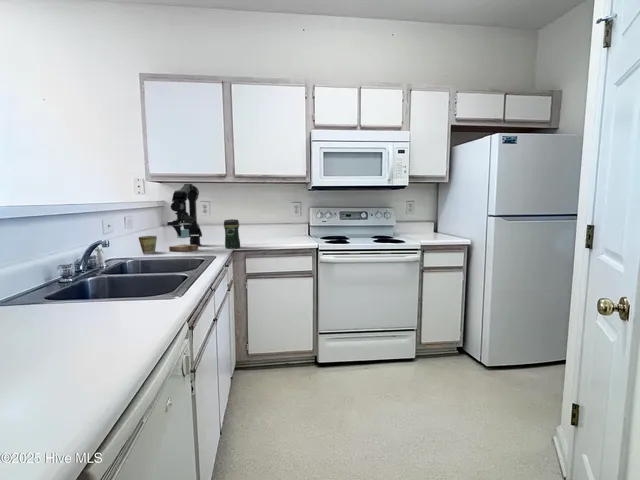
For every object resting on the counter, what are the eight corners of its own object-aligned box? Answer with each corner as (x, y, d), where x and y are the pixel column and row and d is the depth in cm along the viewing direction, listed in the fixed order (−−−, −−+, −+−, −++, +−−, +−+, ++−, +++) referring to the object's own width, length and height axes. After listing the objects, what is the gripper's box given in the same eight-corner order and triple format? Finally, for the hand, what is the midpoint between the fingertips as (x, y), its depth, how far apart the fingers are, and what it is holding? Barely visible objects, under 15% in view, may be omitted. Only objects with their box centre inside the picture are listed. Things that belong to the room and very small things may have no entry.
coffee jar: (241, 246, 233) (240, 218, 231) (238, 248, 225) (237, 219, 223) (227, 247, 233) (225, 219, 231) (223, 248, 225) (222, 219, 223)
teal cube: (183, 237, 224) (182, 229, 224) (189, 237, 222) (188, 229, 221) (177, 237, 220) (176, 229, 219) (183, 238, 217) (182, 230, 217)
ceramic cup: (155, 253, 211) (154, 236, 210) (137, 254, 209) (136, 237, 208) (161, 250, 223) (159, 235, 222) (144, 251, 222) (142, 235, 221)
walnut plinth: (184, 248, 230) (184, 244, 229) (198, 249, 224) (198, 244, 224) (169, 251, 219) (169, 246, 218) (183, 252, 214) (183, 247, 213)
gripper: (179, 211, 207) (181, 237, 209) (202, 210, 224) (203, 234, 226) (165, 211, 212) (167, 237, 214) (189, 210, 229) (190, 234, 230)
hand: (183, 235), depth 221 cm, fingers closed on teal cube, 5 cm apart
